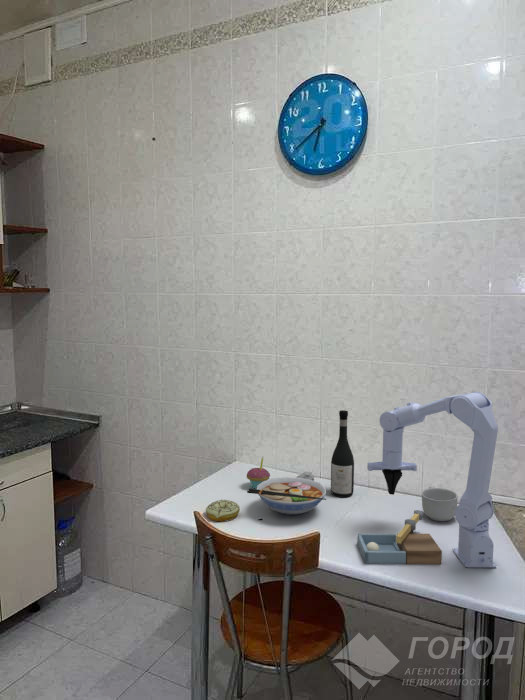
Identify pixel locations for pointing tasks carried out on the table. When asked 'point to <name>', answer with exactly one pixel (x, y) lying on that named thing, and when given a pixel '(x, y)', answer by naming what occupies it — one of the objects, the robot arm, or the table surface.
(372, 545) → the ball
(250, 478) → the cupcake
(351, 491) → the wine bottle
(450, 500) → the teacup
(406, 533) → the lever
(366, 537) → the shallow square tray
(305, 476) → the frog figurine
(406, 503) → the table surface
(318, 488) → the ramen bowl
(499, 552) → the table surface
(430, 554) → the block
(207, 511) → the decorated donut
